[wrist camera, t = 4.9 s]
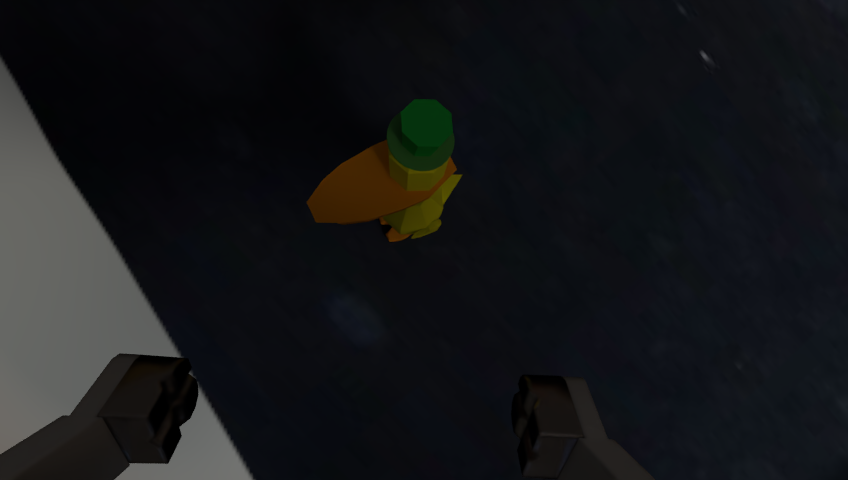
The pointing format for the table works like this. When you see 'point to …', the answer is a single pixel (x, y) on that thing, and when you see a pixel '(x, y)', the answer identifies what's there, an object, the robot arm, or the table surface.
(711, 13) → the table surface
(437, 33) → the table surface
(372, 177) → the toy figure
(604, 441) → the robot arm
